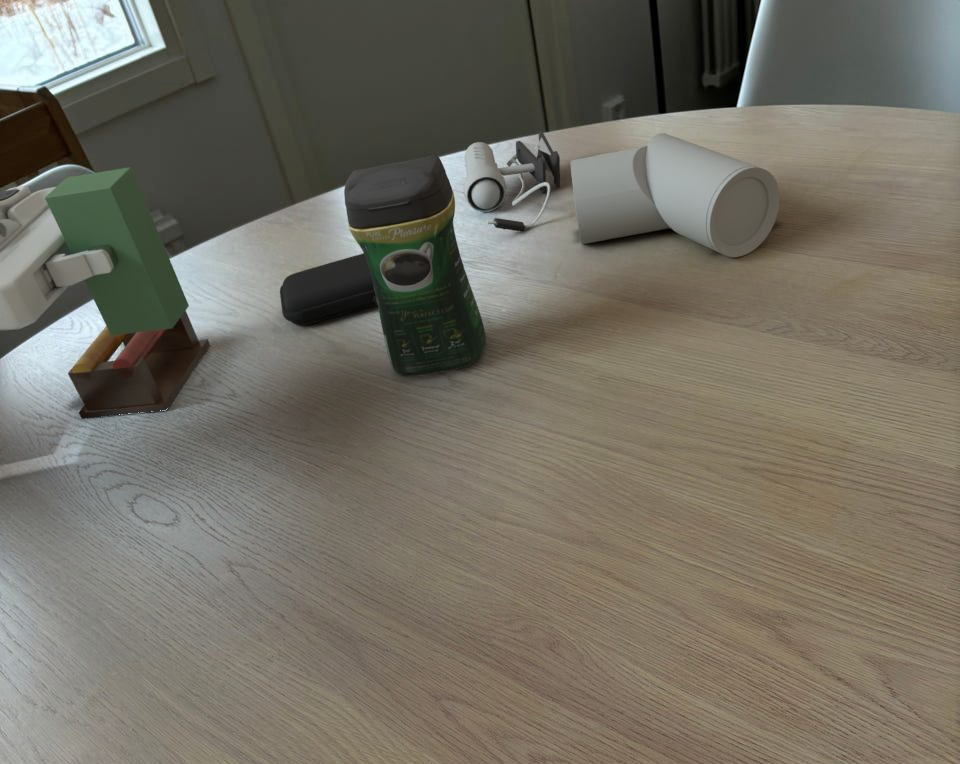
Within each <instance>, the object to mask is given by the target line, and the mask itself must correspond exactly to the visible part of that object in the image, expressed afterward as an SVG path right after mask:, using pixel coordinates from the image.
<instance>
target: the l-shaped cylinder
mask: <svg viewBox="0 0 960 764" xmlns="http://www.w3.org/2000/svg"><path fill="white" fill-rule="evenodd" d="M570 173H571V175H570V176H571V184H572V191H573V198H574V199H573V201H574V207H575V214H576V220H577V229H578V235H579V240H580V244H581V245H585V244H591V243H596V242H601V241H607V240H612V239H618V238H624V237H629V236H635V235H641V234H646V233H651V232H656V231H662V230H668V229H671V230H672V231H674V232H675V233H677V234H678V235H681V236H683V237H685V238H687V239H689V240H690V241H693V242H695V243H698V244H700V245H702V246H704V247H706V248H708V249H711V250H712V251H715V252H717V253H719V254H721V255H723V256H725V257H728V258H739V257H743V256H745V255H748V254H750V253H751V252H753V251H755V250H756V249H757V248H758V247H759V246H761V244H762V243H764V241H765V240H766V238H767V237H768V236H769V234H770V232H771V231H772V230H773V227H774V226H775V223H776V221H777V217H778V214H779V209H780V201H781V199H780V198H781V195H780V188H779V185H778V182H777V179H776V178H775V176H774V175H773V174H772V173H771V172H770V171H769V170H767V169H765V168H764V167H763V168H762V167H760V166H757V165H755V164H752V163H749V162H746V161H743V160H740V159H738V158H735V157H732V156H729V155H727V154H724V153H720V152H718V151H716V150H713V149H710V148H706V147H704V146H701V145H698V144H696V143H693V142H690V141H687V140H685V139H681V138H679V137H675V136H673V135H670V134H667V133H662V132H661V133H657V134H655V135H653V136H652V137H651V139H650V140H649V141H648V144H647V145H644V146H639V147H633V148H629V149H624V150H619V151H612V152H608V153H607V152H606V153H603V154H597V155H593V156H589V157H582V158H578V159H572V160H570Z"/></svg>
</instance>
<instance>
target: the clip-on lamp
mask: <svg viewBox="0 0 960 764" xmlns="http://www.w3.org/2000/svg"><path fill="white" fill-rule="evenodd" d="M560 159H561V158H560V154H559V153H558V150H555V151H554V150H553V147H552V146H551V144H550V143H549V141H548V138H547V136H546V135H545V133H544V132H543V131H542V132H538V143H537V144H531V143H527V142H523V141H521V140H516V142H515V154H514V155H513V156H512V157H511V158H510V159H509V160H508V161H507V162H506V165H507V166H503V167H498V164H497V162H496V160H495V155H494V151H493V149H492V148H491V146H490V145H489V144H487V143H486V142H484V141H483V142H481V141H476V142H473V143H472V144H470V145H469V146H468V147H467V149H466V151H465V152H464V164H465V171H466V177H465V179H464V182H463V194H464V198H465V201H466V202H467V203H468V205H469V206H470V207H471V208H472V209H473V210H475V211H477V212H481V213H488V212H492V211H495V210H496V209H498V208H499V207H500V206H501V205H502V204H503V203H504V201H505V198H506V196H507V183H506V179H505V176H513V175H518V177H519V180H520V181H521V185H522V186H521V189H520V191H519V193H518V194H517V196H516V197H515V198H514V199H513V200H512V206H513V207H514V206H516V205H517V204H519V203H521V202H522V201H523V200H524V199H526V198H527V197H528V196H530V195H531V194H532V193H534V192H536V191H538V190H539V191H540V192H541V194H542V195H543V194H546V196H545V200H544V203H543V204H542V206H541V209H540V211H539V212H538V214H537V216H536V217H535V218H534V219H533V220H532V222H531V223H528V224H527V225H526V224H525V223H524V222H523V221H519V220H513V219H512V220H511V219H506V218H500V217H495V218H493V221H487V225H493V226H494V227H495V229H500V230H501V229H502V230H504V231H505V230H508V231H512V232H515V231H516V232H520V233H521V232H524V231H525V230H526V229H529V228H530V227H533V226H534V225H535V224H536V223H537V222H538V220H539V219H540V218H541V216H542V214H543V213H544V211H545V209H546V206H547V205H548V203H549V199H550V195H551V188H552V187H551V184H550V183H549V182H547V172H548V173H549V174H551V175H552V177H553V184H554V186H555V187H556V188H561V163H560V161H561V160H560ZM513 164H515V165H513ZM526 173H529V174H530V175H531V176H532V177H533V178H534V179H535V181H536V182H537V183H538V184H536V185H534V186H533V187H531V188H530V189H528V190H527V191H526V192H524V191H525V186H526V185H525V181H524V174H526Z"/></svg>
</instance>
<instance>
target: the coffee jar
mask: <svg viewBox="0 0 960 764" xmlns="http://www.w3.org/2000/svg"><path fill="white" fill-rule="evenodd" d="M446 171H447V170H446V169H445V166H444V164H443V162H442V160H441V157H439V156H438V155H436V154H432V155H428V156H424V157H419V158H415V159H409V160H403V161H398V162H392V163H387V164H382V165H377V166H372V167H367V168H359V169H354V170H353V171H352V172H351V173H350V175H349V177H348V179H347V180H346V182H345V186H344V188H343V195H344V196H343V197H344V205H345V208H346V210H345V211H346V216H347V223H348V228H349V231H350V233H351V236H352V238H353V239H354V240H355V241H356V243H357V244H358V246H359V247H360V249H361V251H362V252H363V253H364V255H365V258H366V261H367V264H368V267H369V270H370V274H371V277H372V281H373V285H374V290H375V294H376V299H377V308H378V314H379V318H380V319H379V320H380V324H381V329H382V334H383V339H384V344H385V348H386V353H387V357H388V361H389V365H390V367H391V369H392V370H393V371H394V372H396V373H397V374H399V375H401V376H407V377H411V376H423V375H432V374H439V373H444V372H449V371H456V370H460V369H463V368H466V367H469V366H470V365H472V364H473V363H475V362H476V360H478V359H479V358H480V357H481V356H482V354H483V353H484V351H485V347H486V342H487V334H486V329H485V324H484V322H483V318H482V315H481V312H480V309H479V306H478V304H477V300H476V298H475V295H474V292H473V290H472V286H471V284H470V281H469V277H468V275H467V272H466V269H465V266H464V263H463V259H462V256H461V253H460V250H459V249H460V248H459V245H458V241H457V237H456V231H455V226H454V218H455V214H456V213H455V212H456V198H455V192H454V190H453V187H452V185H451V184H452V183H451V182H450V180H449V177H448V175H447V172H446ZM363 253H362V254H363Z"/></svg>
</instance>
